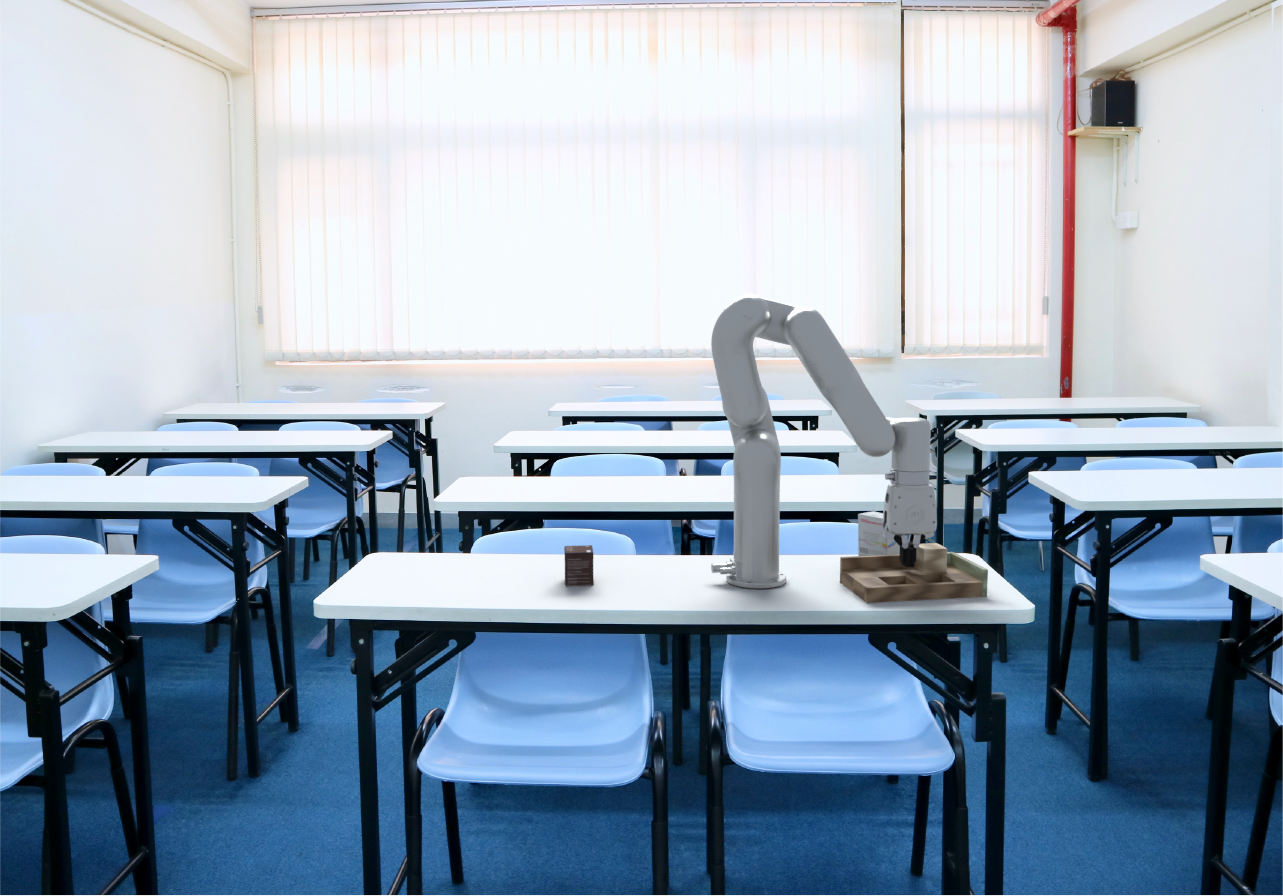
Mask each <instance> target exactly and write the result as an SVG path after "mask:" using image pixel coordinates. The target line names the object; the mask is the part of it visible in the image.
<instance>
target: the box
mask: <svg viewBox="0 0 1283 896" xmlns="http://www.w3.org/2000/svg"><path fill="white" fill-rule="evenodd" d="M593 548H594V547H593V545H591V544H589V545H588V544H587V545H564V586H565V587H575V586H576V587H577V586H582V587H584V586H594V585H595V583H594V549H593Z"/></svg>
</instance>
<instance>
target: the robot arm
mask: <svg viewBox="0 0 1283 896" xmlns="http://www.w3.org/2000/svg"><path fill="white" fill-rule="evenodd" d="M755 338H758V339H763V340H767V341H771V342H775V343H778V344H781V345H787V346H790V347H791V349H792V351H793V352H794V353H795V355H796V356H797V358H798V359H799V361H800V363H801V364H802V366H803V367H804V368H805V370H806V372H807V373H808V375H809V376H810V378H811V379H812V381H813V383H814V384H815V386H816V387H817V390H819V392H820V393H821V395H822V396H823V398H825V399H826V401H827V402H828V403H829V404H830V405H831V407H832V408H833V409H834V411H835V412H836V413H837V415H838V417H839V418H840V420H841V421H842V423H843V424H844V425H845V427H846V429H847V430H848V432H849V434H850V436H851V437H852V438H853V440H854V443H855V445H857V447H858V448H859V449H860V451H861V452H862V453H863V454H864V455H866V456H869V457H871V458H880V457H884V456H886V455H888V454H889V453H890V452H891V465H890V466H891V469H890V471H889V472H887V473H884V480H887V481H889V482H890V483H888V485H887V488H886V491H885V496H884V503H883V512H882V513H883V528H884V532H883V537H884V538H886V539H890V540H894V541H895V542H896V543H897V544H898V545H899V546H900V556H899V560H900V562H901V564H902V565H903V566H905V567H914V566H915V562H916V551H917V548H918V547H919V544H922V542H923V541H924V540H926V539H929V538H933V537H934V536H935V532H936V530H937V526H938V520H937V519H938V518H937V517H938V515H937V502H936V494H935V493H936V492H935V488H934V485H933V484H931V483H930V465H931V435H932V433H931V432H932V431H931V430H932V427H931V423H930V421H929V420H928V419H926V418H922V417H914V416H913V417H898V418H894V417H886V416H885V413H883V411H882V409H881V408H880V407H879V405H878V403H877V402H876V400H875V398H874V396H873V395H872V394H871V393H870V390H869V389H868V388H867V386H866V384H865V382H864V381H863V379H862V377H861V375H860V373H859V371H858V370H857V368H856V367H855V365H854V364H853V362H852V360H851V359H850V357H849V356H848V355H847V352H846V351H845V349H844V348H843V346H842V344H841V343H840V342H839V340H838V339H837V337H836V335H835V334H834V332H833V331H832V329H831V328H830V326H829V325H828V323H827V321H826V320H825V318H824V317H823V315H822V314H821V313H820V312H819V311H818V310H817V309H816V308H815V309H814V308H812V307H809V306H808V307H806V306H797V305H794V304H790V303H784V302H780V301H777V300H774V299H770V298H765V297H761V296H760V295H757V294H754V293H746V294H742V295H740V296H737V298H735V299H734V300H733V301H731V302H730V303H729V304H728V305H727V306H726V307H725V308H724V309H723V311H722V312H721V313H720V314H719V316H718V317H717V319H716V322H715V323H714V326H713V329H712V333H711V347H710V348H711V353H712V360H713V364H714V369H715V373H716V374H715V375H716V379H717V383H718V387H719V391H720V396H721V401H722V410H723V413H724V415H725V417H726V418H727V421H728V426H729V430H730V434H731V438H732V443H733V446H734V452H733V463H732V464H733V466H732V467H733V557H729V561H726V562H725V563H711V565H710V569H711V573H712V574H715V573H716V574H718V573H719V575H726V578H725V580H726V582H727V583H728V584H730V585H733V586H735V587H739V588H745V589H746V588H747V589H771V588H777V587H778V588H779V587H780V586H783V585H785V584H786V583H787V575H785V573H783V572H781V571H780V515H781V514H780V513H781V511H780V510H781V509H780V506H781V505H780V504H781V503H780V501H781V500H780V499H781V498H780V497H781V496H780V495H781V494H780V493H781V491H780V490H781V489H780V487H781V469H782V468H781V467H782V465H781V463H782V455H781V448H780V443H779V440H778V435H777V431H776V427H775V423H774V419H773V416H772V410H771V405H770V402H769V398H768V395H767V392H766V390H765V388H764V387H763V385H762V383H761V378H760V374H759V371H758V365H757V360H756V356H755V352H754V340H755Z"/></svg>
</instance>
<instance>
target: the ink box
mask: <svg viewBox="0 0 1283 896" xmlns="http://www.w3.org/2000/svg"><path fill="white" fill-rule="evenodd" d="M857 520H858V521H857V523H858V525H857V530H858V533H857V536H858V539H857V541H858V542H857V543H858V544H857V545H858V549H857V550H858V555H857V556H873V555H896V554H900V546H899V545H898V544H897V543H896V542H895V541H894V540H890V539H886V538H884V537H883V532H884V528H883V512H877V511H867V512H863V513H858V514H857Z"/></svg>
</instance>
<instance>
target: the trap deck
mask: <svg viewBox="0 0 1283 896" xmlns="http://www.w3.org/2000/svg"><path fill="white" fill-rule="evenodd" d="M899 556H900V554H896V555H873V556H858V555H855V556H854V555H853V556H852V555H851V556H840V561H839V564H840V565H839V568H840V569H839V583H840V584H841V585H842V584H843V585H842V586H844V587H845V588H847V589H848V590H849V591H851V592H852V593H853V594H854V595H855V596H857V597H858V598H859V599H861V600H862V601H863V602H865V603H867V604H870V603H871V604H873V603H874V604H875V603H890V602H891V603H892V602H893V603H894V602H895V603H896V602H908V601H909V602H910V601H926V600H927V601H929V600H931V601H932V600H948V599H964V598H965V599H967V598H968V599H969V598H987V597H988V578H989V569H987V568H986V567H983V566H981V565H979V564H978V563H976V562H974V561H972V560H970V559H968V558H966V557H964V556H962V555H960V554H959V553H956V552H954V551H947V572H943V573H922V572H920V571H919V570H917V569H915V568H914V567H905V566H903V565H902V564H901V562H900V560H899Z"/></svg>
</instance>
